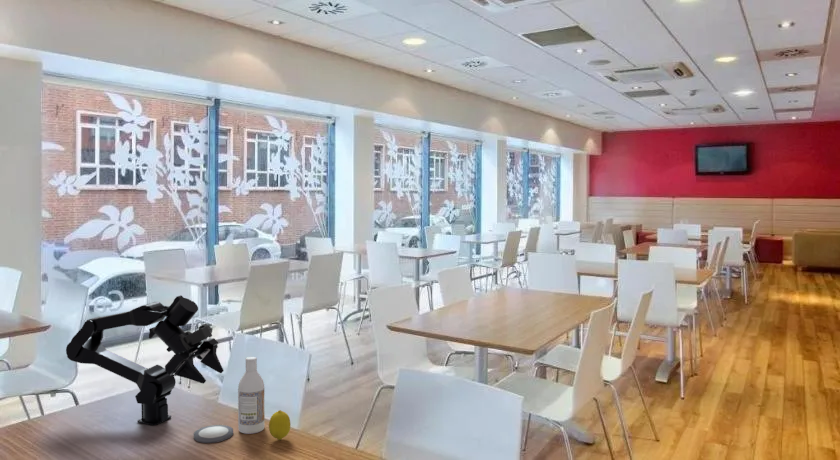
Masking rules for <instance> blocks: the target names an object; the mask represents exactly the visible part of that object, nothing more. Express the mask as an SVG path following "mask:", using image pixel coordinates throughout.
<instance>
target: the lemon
mask: <svg viewBox="0 0 840 460" xmlns="http://www.w3.org/2000/svg"><path fill="white" fill-rule="evenodd" d="M268 429H269V434H270V435H271V436H272V437H273V438H275V439H277V440H278V441H281V440H283V438H285V437H287V436H288V434H289V433H290V430H291V419H290V416H289V415H288V413H286V412H285V411H282V410H281V409H279V410H278V411H276V412H274V413H273V414H272V415H270V419H269V423H268Z"/></svg>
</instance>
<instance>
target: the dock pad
mask: <svg viewBox="0 0 840 460" xmlns="http://www.w3.org/2000/svg"><path fill="white" fill-rule="evenodd" d="M233 435H234V428H233V427H231V426H229V425H226V424H212V425H207V426H203V427H200V428H198V429H197V430H195V431H194V432H193V439H194V441H196V442H198V443H203V444H212V443H213V444H214V443H215V444H216V443H219V442H222V441H226V440H228V439H230V438H232V437H233Z"/></svg>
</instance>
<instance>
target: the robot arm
mask: <svg viewBox="0 0 840 460" xmlns="http://www.w3.org/2000/svg"><path fill="white" fill-rule="evenodd" d="M198 311H199V306H198V305H197V303H196V302H195V301H193V300H192V299H189V298H186V297H184V296H183V295H178V296H175V298H174V299H173V302H172V303H171V304H170V305H163V303H161V302H160V301H154V302H150V303H146V304H143V305H140V306H138V307H136V308H133V309H131V310H129V311H124V312H119V313H115V314H114V313H113V314H110V315H103V316H96V317H93V318H89V319H87V320H86V321H85V322H84V323H83V325H82V326H81V328H80V329H79V330H78V331H77V333H76V334H75V335H74V336H73V337H72V339H71V340H70V342H69V343H68V344H67V345H66V347H65V352H66V353H65V354H66V357H67V359H68V360H70V361H72V362H75V363H79V364H85V365H86V364H88V365H96V366H98V367H100V368H101V369H104V370H107V371H109V372H110V373H113V374H115V375H117V376H119V377H121V378H124V379H126V380H128V381H130V382H132V383H134V384H136V385H137V388H138V389H139V392H138V393H137V394H136V395H134V396H135V400H136V403H137V404H141V418H140V419H137V420H136V421H137V423H140V424H144V425H150V426H157V425H159V424H162V423H164V422H166V421H167V420H170V419H171V418H172V415H169V405H168V399H167V397H168V396H170V395H171V394H172V390H173V389H174V388H175V387H176V378H175V377H181V378H185V379H188V380H191V381H195V382H197V383H199V384H205V383H206V382H207V380H206V378H205V377H204V375H203V374H202V373H201V371H199V370H198V368H197V367H196V366H195V364H194V359H195V358H196V359H198V360H200V363H202V364H203V365H205V366H207V367H208V368H210V369H212V370H213V371H215V372H216V373H219V374H222V373H223V372H224V367H223V366H222V363H221V362H220V360H219V357H218V355H217V349H218V348H219V346H218V345H219V341H217V339H215V338H212V337H213V334H212V333H213V327H211V326H210V325H208V324H207V323H204V324H202V325H200V326H198V329H197V330H195V331H194V332H193V331H192V332H191V331H189V330H187V331H184V330H183V328H181V327H186V326H187V324H188V323H189V322H190V321H191V320H192V318H193V317H194V316H195V315H196V313H197V312H198ZM156 323H157V324H156ZM153 324H156V325H155V326H154V327H150V328H149V332H148V339H153V338H156V337H158V338H159V339H160V340H161V341H162V342H163V343H164V345H166V347H167V348H166V351H167V352H168V353H170V352H173V353H174V355H173V356H172V357H171V358H170V359H169V361H168V362H167V363H166V364H165V365H164V367H163V366H162V365H159V364H155V365H153V366H151V367H149V368H147V367H146V366H142V365H140V364H139V363H136V362H135V361H132V360H129V359H128V358H125V357H123V356H121V355H118V354H117V353H115V352H112V351H110V350H107V349H106V347H105V345H104V343H103V342H102V341H103V338H104V331H105V330H110V329H115V328H121V327H127V326H135V327H148V326H150V325H153Z"/></svg>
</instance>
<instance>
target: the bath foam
mask: <svg viewBox="0 0 840 460" xmlns="http://www.w3.org/2000/svg"><path fill="white" fill-rule="evenodd" d="M257 360H258V358H257V357H256V356H247V357H246V358H245V372H244V373H243V375H242V376H241V378H240V379H239V382H238V386H237V387H238V388H237V415H238V416H237V418H238V419H237V422H238V423H237V425H238V427H237V429H238V432H239V433H242V434H245V435H248V434H249V435H250V434H251V435H253V434H257V433H260V432H262V431H263V430H264V429H265V415H266V413H265V412H266V411H265V407H266V406H265V401H266V400H265V382H264V379H263V378H262V375H260V373H259V371H258V370H257V369H258V363H257Z"/></svg>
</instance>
